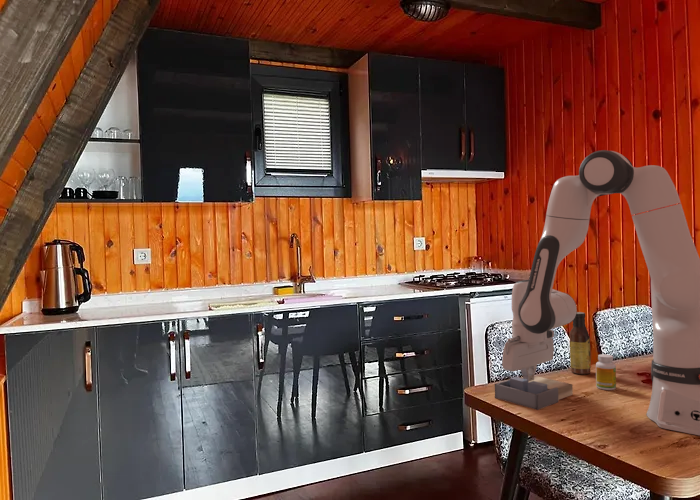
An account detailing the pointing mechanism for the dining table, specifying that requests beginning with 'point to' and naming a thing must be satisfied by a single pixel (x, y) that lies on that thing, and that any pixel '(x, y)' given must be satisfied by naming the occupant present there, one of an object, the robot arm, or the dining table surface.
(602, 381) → the supplement bottle
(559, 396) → the board
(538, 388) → the tile
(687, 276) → the robot arm
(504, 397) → the tray
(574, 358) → the sauce bottle
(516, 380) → the tile
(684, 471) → the dining table surface
